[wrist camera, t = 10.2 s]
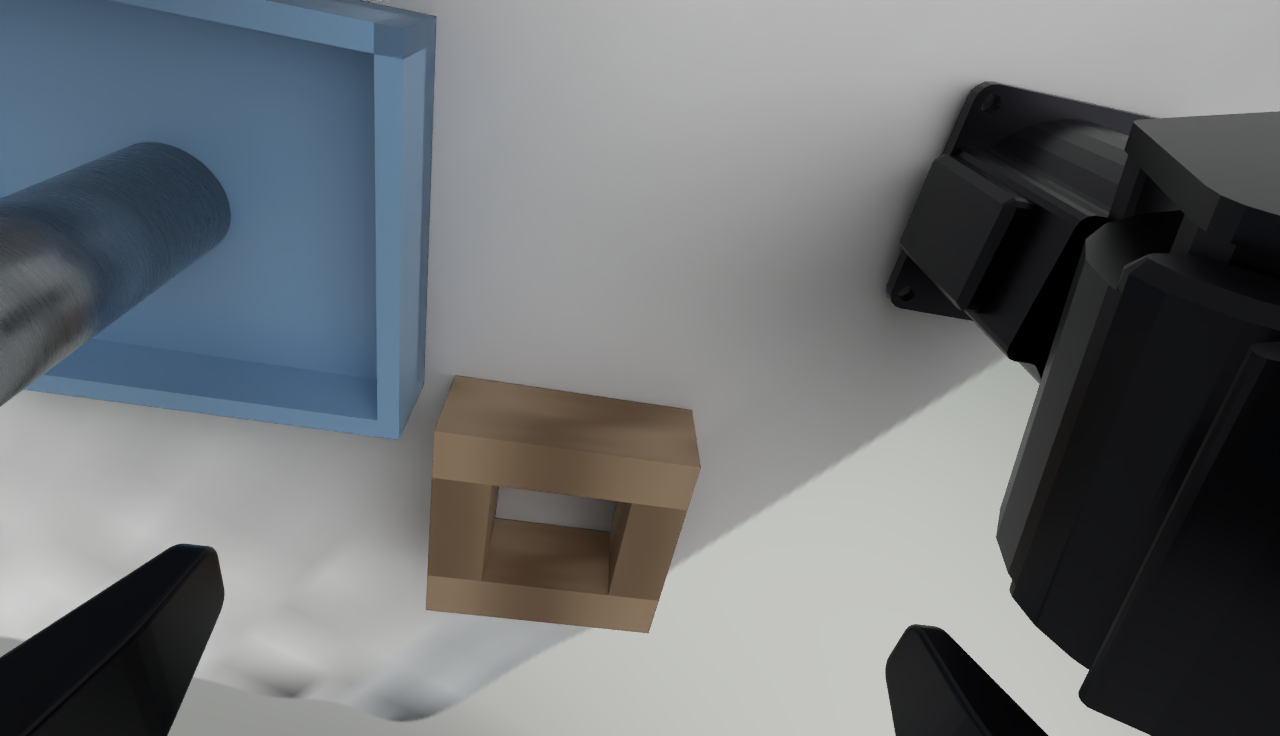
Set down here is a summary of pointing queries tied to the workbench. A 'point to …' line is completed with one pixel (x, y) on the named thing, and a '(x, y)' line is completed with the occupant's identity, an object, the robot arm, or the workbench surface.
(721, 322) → the workbench surface
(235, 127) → the tray
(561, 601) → the hole block
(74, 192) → the pin
